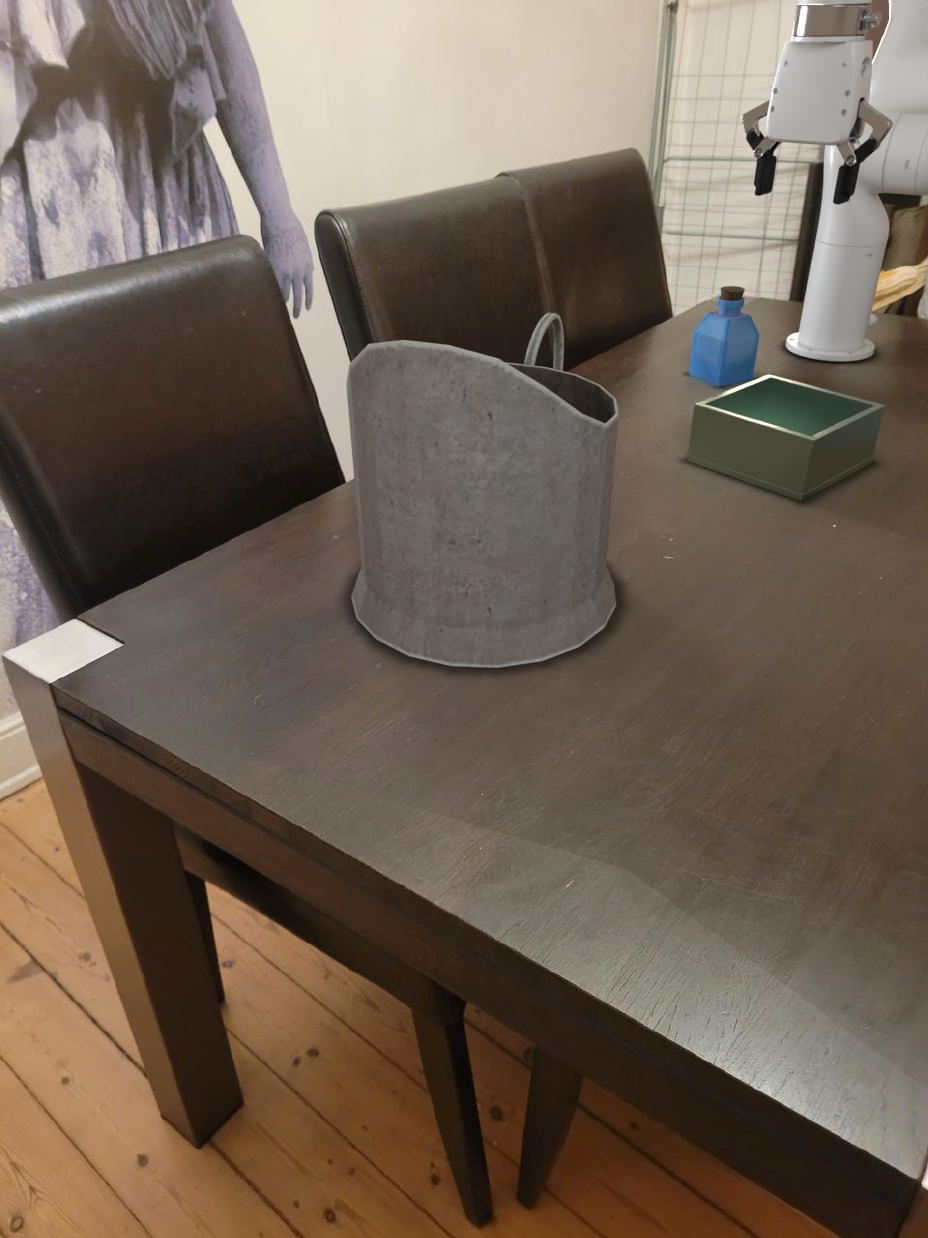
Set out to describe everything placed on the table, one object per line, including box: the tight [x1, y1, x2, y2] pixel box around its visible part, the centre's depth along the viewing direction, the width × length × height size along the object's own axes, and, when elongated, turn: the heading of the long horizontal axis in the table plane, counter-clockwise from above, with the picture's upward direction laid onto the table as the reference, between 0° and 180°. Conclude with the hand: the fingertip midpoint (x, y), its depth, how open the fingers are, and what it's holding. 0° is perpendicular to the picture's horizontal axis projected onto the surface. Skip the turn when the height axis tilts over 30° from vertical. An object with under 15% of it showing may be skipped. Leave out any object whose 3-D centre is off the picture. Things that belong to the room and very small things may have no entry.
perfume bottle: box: [688, 285, 761, 388], centre depth 127 cm, size 6×6×12 cm
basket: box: [686, 374, 886, 502], centre depth 103 cm, size 15×15×7 cm
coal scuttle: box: [345, 312, 619, 669], centre depth 79 cm, size 23×32×25 cm
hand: (801, 198), depth 109 cm, fingers open, 9 cm apart
